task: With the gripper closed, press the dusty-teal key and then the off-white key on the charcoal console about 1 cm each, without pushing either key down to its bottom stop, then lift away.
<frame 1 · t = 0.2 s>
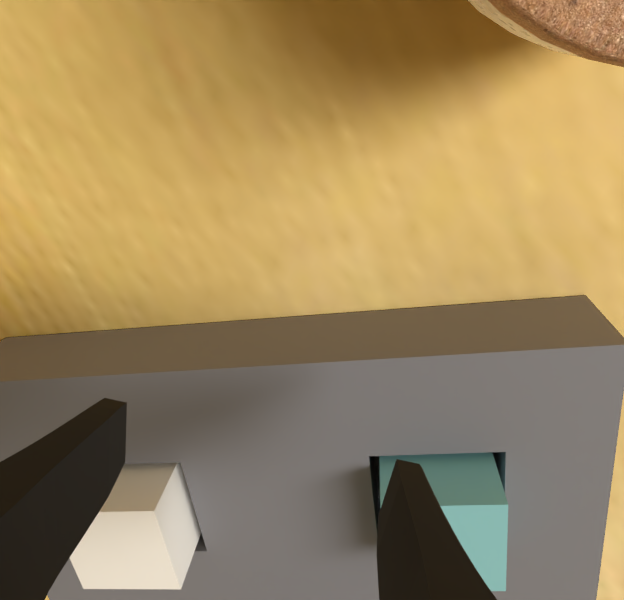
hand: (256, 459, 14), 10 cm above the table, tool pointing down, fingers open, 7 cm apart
console: (294, 444, 26), on the table
white key: (133, 520, 23), point 5 cm above the table, slide at 0.0 cm
teal key: (439, 516, 21), point 5 cm above the table, slide at 0.0 cm
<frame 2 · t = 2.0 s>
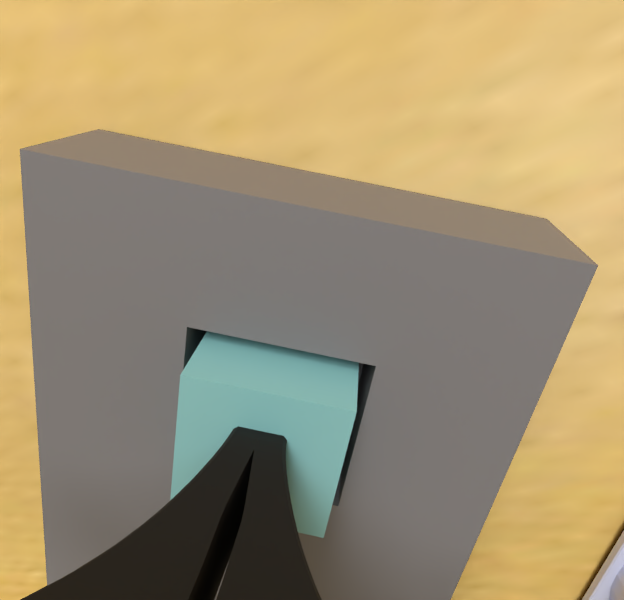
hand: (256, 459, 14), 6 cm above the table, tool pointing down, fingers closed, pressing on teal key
console: (263, 486, 22), on the table
teal key: (267, 423, 15), point 4 cm above the table, slide at 0.6 cm, touching gripper
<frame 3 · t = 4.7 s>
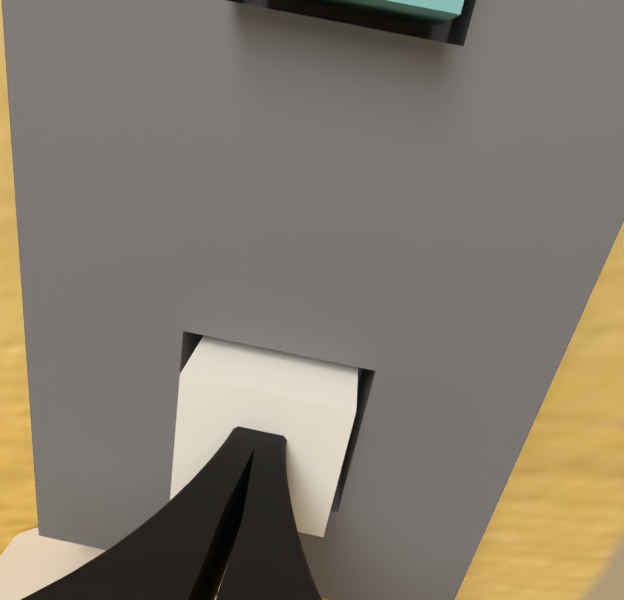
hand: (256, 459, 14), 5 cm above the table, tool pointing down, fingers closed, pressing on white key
milk carton: (124, 562, 24), on the table
console: (319, 174, 16), on the table
white key: (267, 422, 15), point 4 cm above the table, slide at 0.8 cm, touching gripper
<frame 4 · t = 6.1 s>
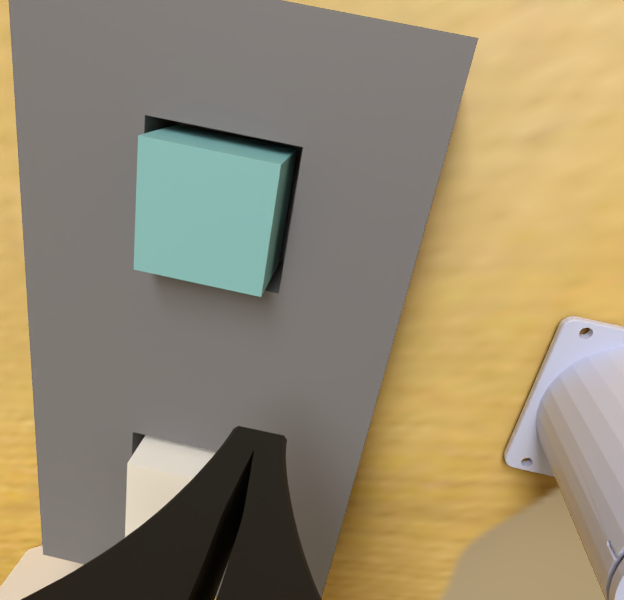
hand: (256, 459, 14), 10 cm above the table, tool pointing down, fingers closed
milk carton: (106, 571, 33), on the table
console: (227, 323, 24), on the table
white key: (189, 486, 24), point 4 cm above the table, slide at 0.8 cm
teal key: (217, 207, 18), point 4 cm above the table, slide at 0.8 cm
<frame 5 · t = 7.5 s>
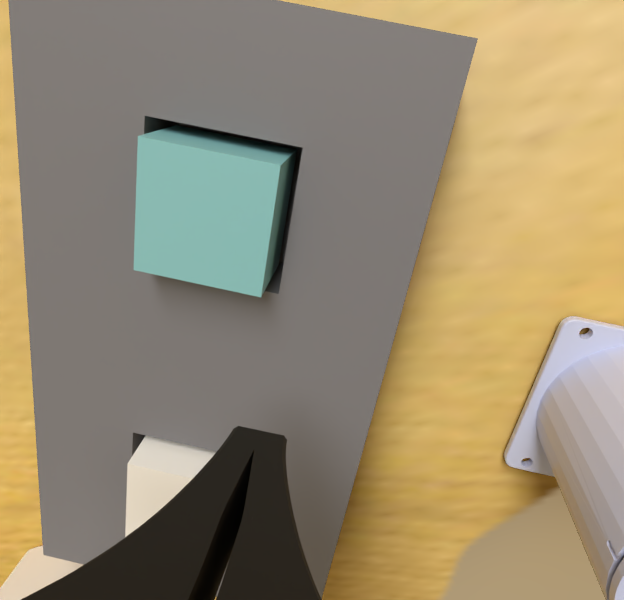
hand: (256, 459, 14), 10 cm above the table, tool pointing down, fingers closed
milk carton: (106, 571, 33), on the table
console: (227, 323, 24), on the table
white key: (189, 487, 24), point 4 cm above the table, slide at 0.8 cm
teal key: (217, 208, 18), point 4 cm above the table, slide at 0.8 cm
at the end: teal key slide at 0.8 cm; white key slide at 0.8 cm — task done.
